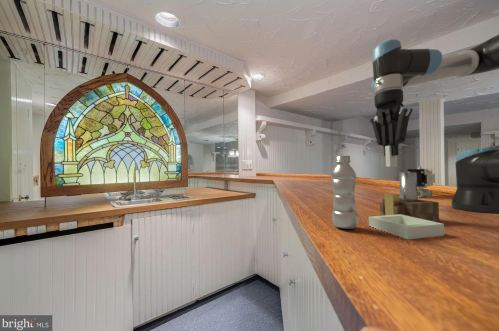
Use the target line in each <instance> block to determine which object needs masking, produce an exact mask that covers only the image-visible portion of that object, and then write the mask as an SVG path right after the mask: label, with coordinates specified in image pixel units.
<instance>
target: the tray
mask: <svg viewBox="0 0 499 331" xmlns="http://www.w3.org/2000/svg"><path fill="white" fill-rule="evenodd" d="M369 226H371V227H370V228H372V227H374V228H373V229H375V228H376V229H375V230H378V229H379V231H381V230H382V231H381V232H384V231H385V232H384V233H387V232H388V233H387V234H390V233H391V234H390V235H393V236H396V237H398V236H399V238H402V239H405V240H417V239H423V238H424V239H425V238H426V239H427V238H434V237H443V236H445V224H444V223H441V222H433V221H429V220H424V219H419V218H415V217H410V216H406V215H401V214H398V215H384V216H380V215H375V216H374V215H373V216H368V227H369Z"/></svg>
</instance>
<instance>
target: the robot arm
mask: <svg viewBox="0 0 499 331" xmlns="http://www.w3.org/2000/svg"><path fill="white" fill-rule="evenodd" d="M401 43H402V42H401V41H400V40H398V39H387V40H386V41H382V42H381V43H380V44H378V45H377V46H376V47H374V49H373V51H372V63H371V64H372V73H373V75H372V76H373V80H372V81H371V89H372V91H373V92H374V97H373V98H374V106H375V108H376V113H375V116H374V118H370V120H369V122H370V123H371V125H372V127H373V132H374V136H375V139H376V144H377V145H378V146H382V147H383V155H384V157H385V167H388V168H389V167H398V156H399V145H400V144H402V143H404V142H405V141H406V136H407V131H408V127H409V126H408V125H409V120H410V116H411V115H412V112H413V108H407V107H405V106H404V104H403V102H404V90H403V89H404V88H405V87H410V86H414V85H420V84H424V83H428V82H432V81H433V82H434V81H437V80H442V79H447V78H450V77H454V76H455V77H458V78H463V77H467V76H471V75H472V76H473V75H477V74H481V73H487V72H492V71H495V70H499V33H498V34H497V35H495V36H492V37H491V38H489V39H486V40H485V41H483V42H482V43H480V44H478V45H476V46H474V47H471V48H469V49H465V50H462V51H460V52H458V53H457V54H455V55H451V56H446V57H443V53H442V52H441V50H439V49H432V48H409V49H407V48H402V45H401ZM454 164H455V178H456V190H455V192H454V195H453V198H452V200H451V208H454V209H457V210H462V211H468V212H476V213H489V214H490V213H491V214H499V147H498V146H497V147H495V146H493V147H482V148H474V149H473V148H472V149H470V150H469V149H467V150H464V151H463V150H462V151H461V152H458V153H457V154H456V156H455V163H454Z"/></svg>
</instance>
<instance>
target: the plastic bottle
mask: <svg viewBox="0 0 499 331" xmlns="http://www.w3.org/2000/svg"><path fill="white" fill-rule="evenodd" d="M351 161H352V160H351V156H350V155H338V156H337V155H336V156H335V161H334V163H335V164H336V165H335V166H334V167H333V169H332V170H331V172H330V179H331V185H332V186H331V188H332V194H333V201H332V202H333V204H332V212H331V221H332V224H333V225H334V227H336V228H339V229H344V230H350V229H351V230H354V229H356V228H357V226H358V225H359V224H358V222H359V217H358V213H357V209H356V208H357V207H356V200H355V198H356V197H355V194H356V189H355V188H356V182H357V180H356V179H357V174H356V172H355V170H354V169H353V166H351V164H350V163H351Z"/></svg>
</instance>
